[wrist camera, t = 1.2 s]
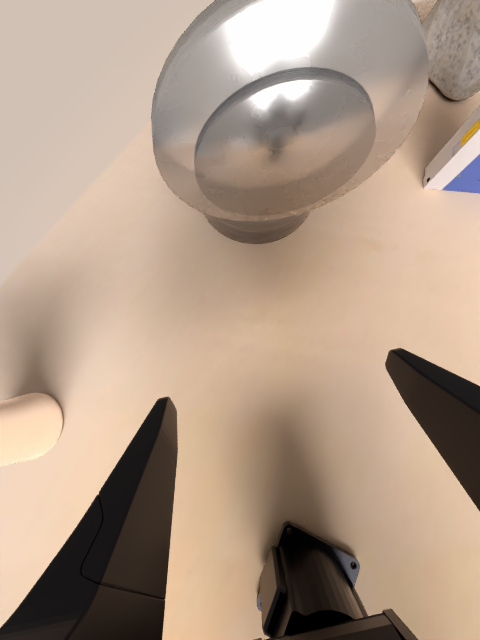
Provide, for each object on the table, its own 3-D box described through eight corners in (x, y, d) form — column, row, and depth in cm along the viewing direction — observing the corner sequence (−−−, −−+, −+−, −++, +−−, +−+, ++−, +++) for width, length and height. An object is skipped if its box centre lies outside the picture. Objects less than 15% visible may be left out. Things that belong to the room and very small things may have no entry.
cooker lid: (345, 200, 20) (348, 218, 20) (188, 217, 21) (189, 235, 20) (544, -73, 7) (555, -23, 7) (77, -12, 7) (80, 37, 7)
